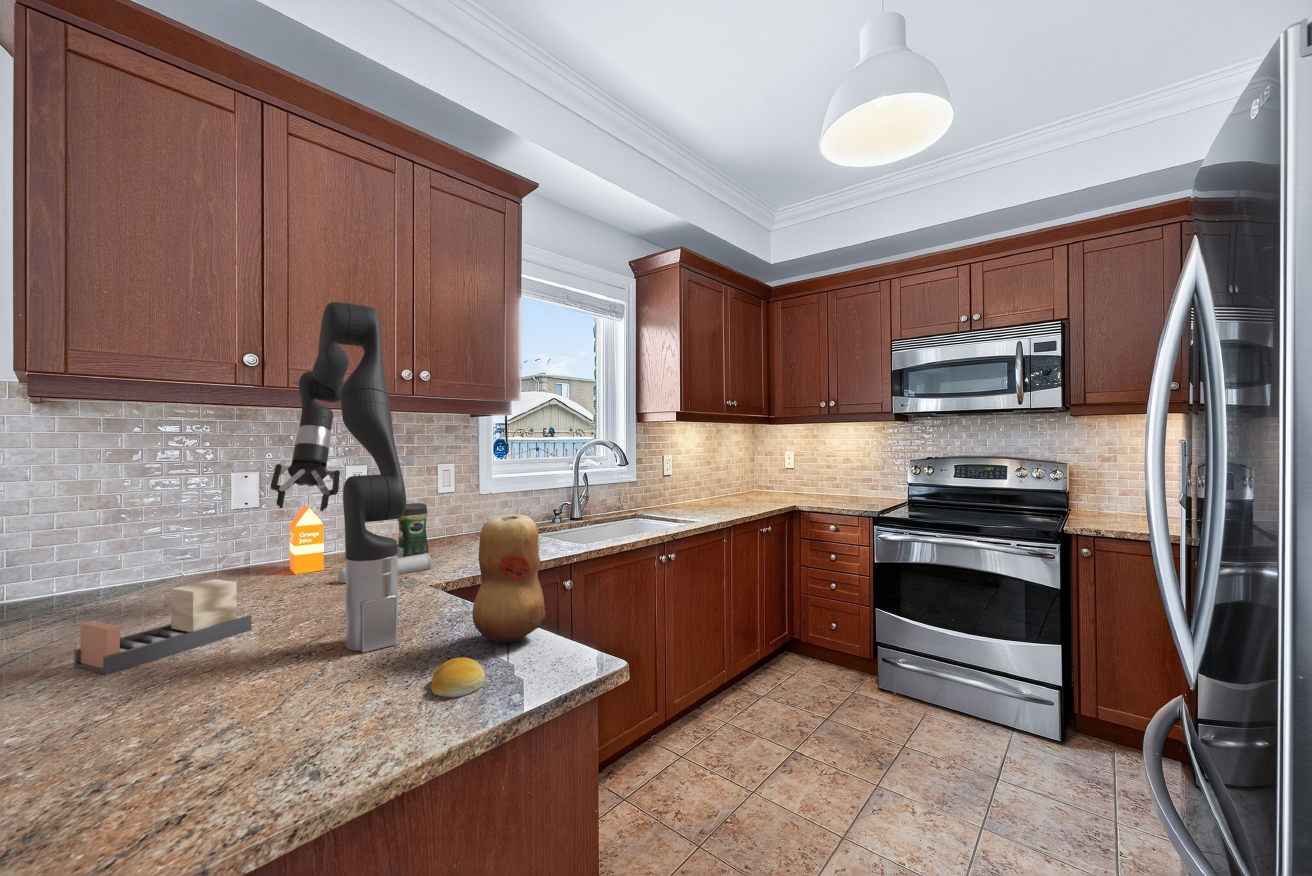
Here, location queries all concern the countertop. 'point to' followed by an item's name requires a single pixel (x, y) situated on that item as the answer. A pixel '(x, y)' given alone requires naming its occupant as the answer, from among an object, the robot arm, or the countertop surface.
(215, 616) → the tan wooden block
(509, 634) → the butternut squash
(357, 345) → the robot arm
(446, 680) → the bread roll
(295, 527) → the orange juice
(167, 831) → the countertop surface
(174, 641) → the roller bed
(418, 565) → the tube
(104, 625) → the end stop
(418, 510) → the coffee jar
